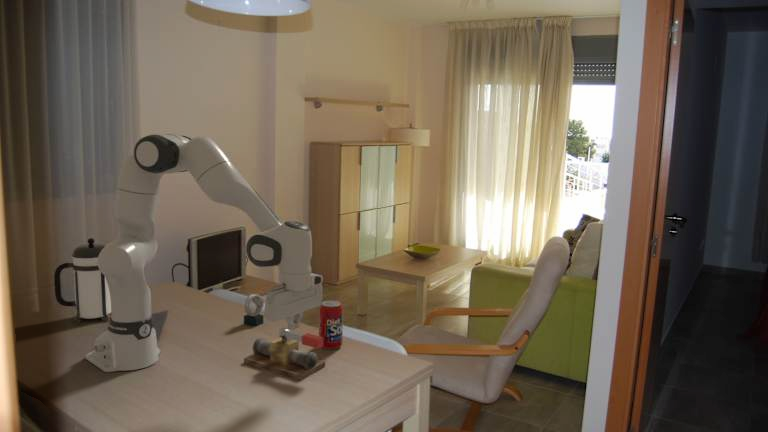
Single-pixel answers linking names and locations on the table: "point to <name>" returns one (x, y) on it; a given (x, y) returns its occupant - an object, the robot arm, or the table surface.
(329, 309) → the soda can
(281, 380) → the table surface
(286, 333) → the valve lever
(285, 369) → the valve mount
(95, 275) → the coffee press
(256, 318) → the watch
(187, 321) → the table surface
